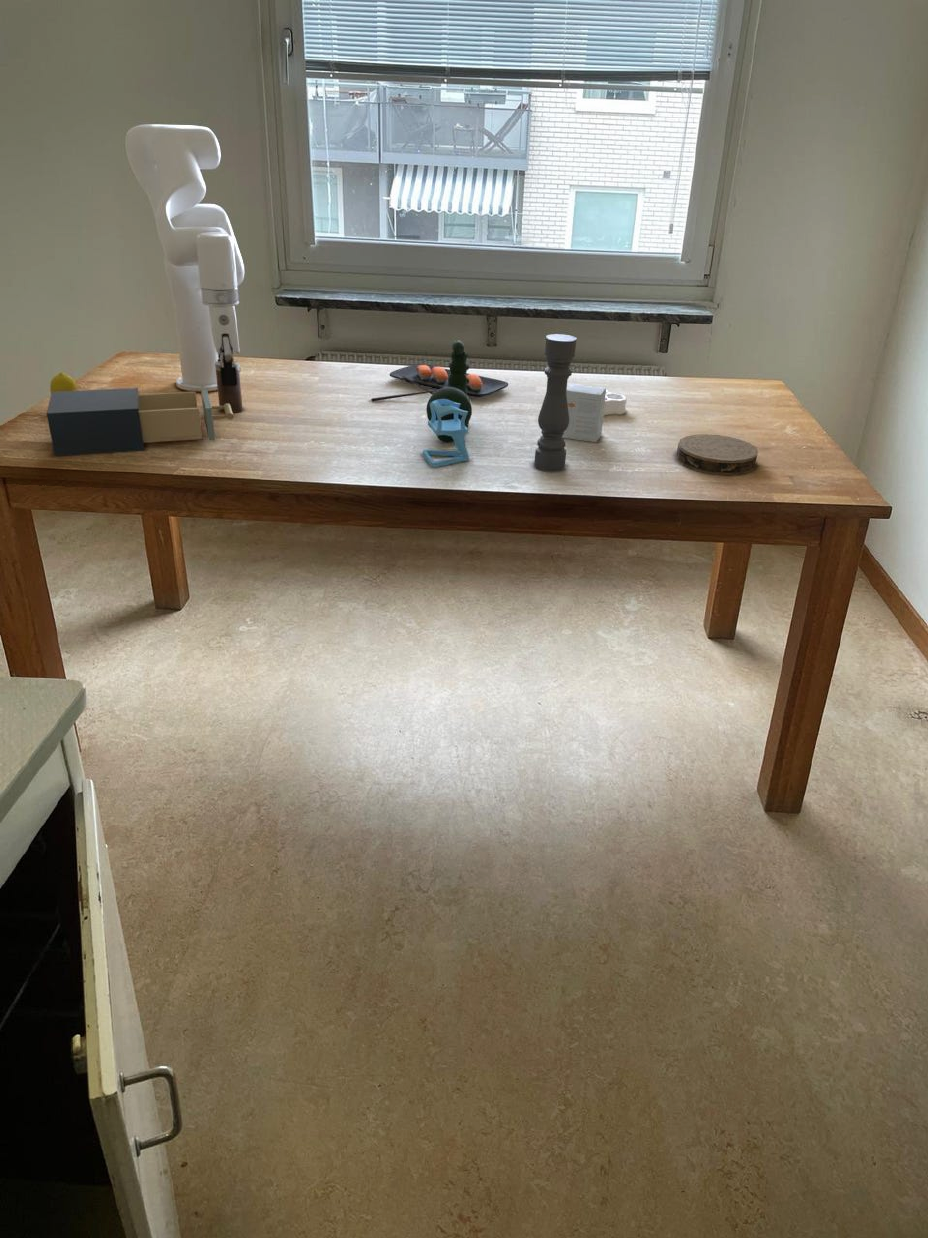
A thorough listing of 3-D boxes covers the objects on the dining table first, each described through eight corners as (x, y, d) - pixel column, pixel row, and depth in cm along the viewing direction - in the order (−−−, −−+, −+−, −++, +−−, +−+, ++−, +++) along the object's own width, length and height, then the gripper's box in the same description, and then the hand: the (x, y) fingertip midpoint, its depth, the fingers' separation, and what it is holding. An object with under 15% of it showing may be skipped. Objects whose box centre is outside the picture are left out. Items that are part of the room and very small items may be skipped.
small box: (601, 435, 195) (607, 387, 190) (596, 443, 191) (602, 394, 186) (566, 430, 198) (570, 382, 192) (560, 437, 193) (564, 389, 188)
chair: (472, 464, 177) (475, 405, 171) (431, 467, 174) (433, 407, 168) (461, 451, 183) (463, 393, 177) (422, 454, 181) (423, 395, 175)
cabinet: (143, 427, 188) (137, 387, 184) (144, 450, 177) (138, 408, 172) (59, 432, 184) (51, 391, 179) (54, 455, 172) (46, 413, 168)
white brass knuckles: (618, 400, 219) (629, 418, 207) (545, 397, 218) (551, 416, 206) (619, 386, 218) (631, 404, 205) (546, 384, 217) (553, 402, 204)
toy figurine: (436, 421, 204) (420, 448, 182) (439, 335, 196) (423, 352, 174) (477, 424, 204) (466, 452, 181) (482, 338, 196) (471, 356, 173)
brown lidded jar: (235, 405, 204) (230, 358, 198) (246, 410, 201) (242, 363, 195) (215, 409, 201) (210, 362, 195) (227, 414, 198) (222, 367, 192)
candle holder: (531, 460, 180) (542, 333, 168) (562, 460, 181) (574, 334, 168) (536, 471, 175) (547, 341, 162) (567, 471, 175) (581, 341, 163)
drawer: (230, 419, 192) (227, 388, 189) (236, 438, 182) (233, 406, 178) (134, 424, 187) (129, 392, 184) (134, 445, 176) (129, 412, 173)
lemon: (85, 406, 199) (79, 370, 195) (73, 413, 194) (67, 376, 190) (61, 404, 199) (54, 368, 195) (49, 411, 195) (42, 375, 190)
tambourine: (707, 478, 175) (710, 464, 174) (661, 452, 188) (663, 438, 186) (771, 469, 181) (774, 455, 179) (722, 444, 193) (725, 431, 192)
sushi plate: (512, 390, 223) (513, 375, 221) (446, 419, 201) (447, 402, 199) (417, 369, 236) (417, 355, 234) (345, 395, 214) (345, 379, 212)
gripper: (242, 303, 182) (249, 391, 192) (234, 288, 197) (241, 370, 206) (204, 304, 180) (213, 393, 189) (199, 288, 194) (207, 371, 203)
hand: (228, 380), depth 197 cm, fingers open, 6 cm apart
